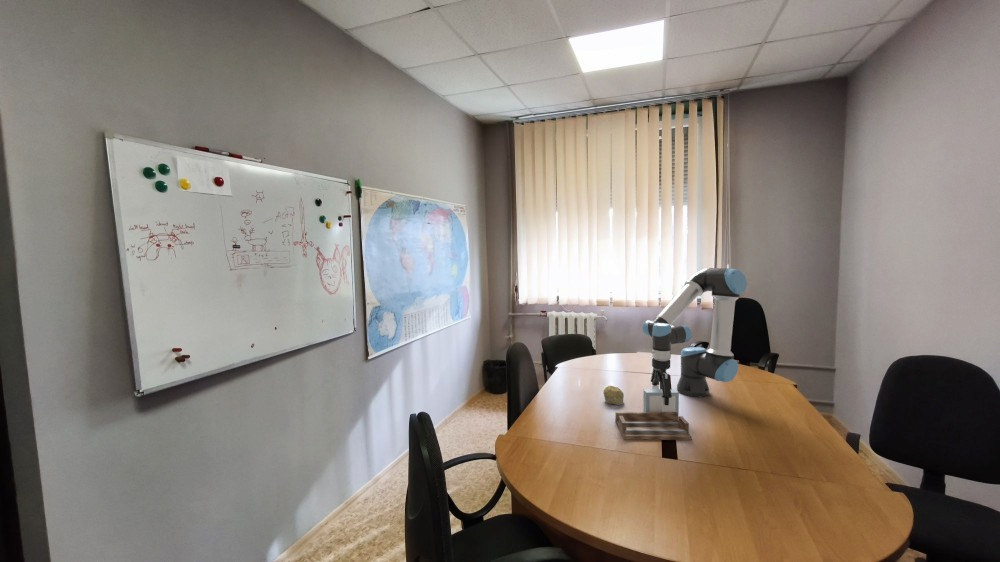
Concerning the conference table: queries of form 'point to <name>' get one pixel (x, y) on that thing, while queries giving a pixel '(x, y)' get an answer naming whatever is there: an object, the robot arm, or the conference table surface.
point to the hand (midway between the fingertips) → (660, 405)
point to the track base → (652, 425)
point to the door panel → (659, 400)
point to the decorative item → (613, 395)
